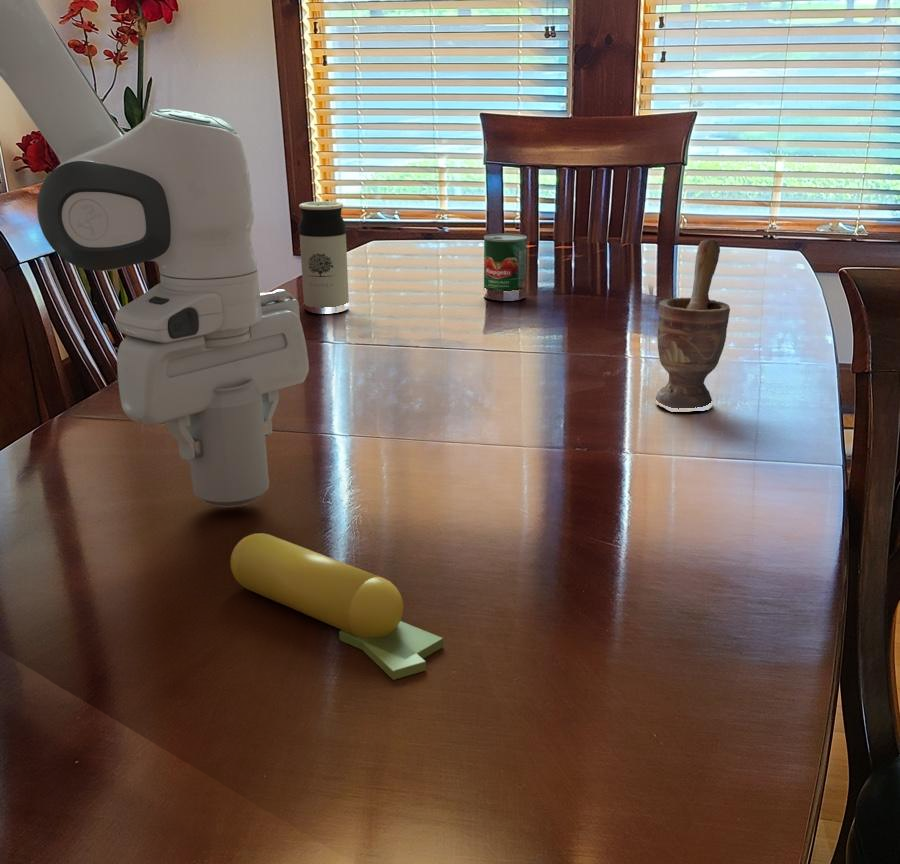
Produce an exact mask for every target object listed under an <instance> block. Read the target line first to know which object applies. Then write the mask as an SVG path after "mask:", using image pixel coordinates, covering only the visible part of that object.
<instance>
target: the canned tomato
mask: <svg viewBox="0 0 900 864" xmlns="http://www.w3.org/2000/svg"><path fill="white" fill-rule="evenodd" d="M527 241H528V238H527V235H525V234H518V233H491V234H486V235H483V289H484V288H486V289H490V290H497V291H512V290H519V289H522V288H524V287H526V284H527V283H526V280H527V277H526V276H527V249H528V248H527V247H528V245H527Z"/></svg>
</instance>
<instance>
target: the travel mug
mask: <svg viewBox="0 0 900 864" xmlns="http://www.w3.org/2000/svg"><path fill="white" fill-rule="evenodd" d="M298 207H299V208H300V211H301V215H302V216H301V219H300V222H299V224H298V230H299V231H298V232H299V246H300V248H299V249H300V263H301V278H302V292H303V293H302V295H303V305H304V304H305V305H306V306H309V307H315V308H324V307H336V306H340V305H344V304H346V303H348V302H349V303H350V296H349V293H350V292H349V275H348V274H349V273H348V252H347V251H348V250H347V232H346V231H347V230H346V229H347V228H346V226H347V225H346V222H345V220H344V219H343V217H342V210H343V209H342V208H343V207H344V204H343V203H342V202H340V201H339V202H338V201H308V202H307V201H306V202H302V203H300V204H299V205H298Z"/></svg>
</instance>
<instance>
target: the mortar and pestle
mask: <svg viewBox="0 0 900 864" xmlns="http://www.w3.org/2000/svg"><path fill="white" fill-rule="evenodd" d="M720 252H721V245H720V243H719V242H718V241H717V240H716V239H710V238H706V239H703V240H701V241H700V243H699V244H698V246H697V250H696V255H695V262H694V275H693V276H694V277H693V278H694V279H693V285H692V292H691V296H690V297H675V298H666V299H662V300H660V301H659V305H658V324H657V336H656V337H657V351H658V359H659V362H660V365H661V366H662V367H663V368H664V370H665V371H666V372H667V373H668V382H667V383H666V385H665V386H664V387H661V388H660V389H659V390H658V392H657V393H656V396H655V399H656V400H657V401H658V402H659V403H661V404H663V405H665V406H668V407H671V408H678V409H679V408H695V407H696V408H697V407H703V406H706V405H708V404H709V403H711V401H713V399H712V395H711V393H710V391H709V389H708V388H707V386H706V385H705V380H706V378H707V377H708V375H709V374H711V372H713V371H714V370H715V369H716V368H717V366H718V364H719V361H720V359H721V356H722V354H723V350H724V348H725V343H726V340H727V330H728V325H729V318H730V313H731V307H730V305H729V304H728V303H726V302H723V301H717V300H716V299H710V298H709V297H710V296H709V292H710V289H711V285H712V280H713V276H714V275H715V272H716V269H717V267H718V262H719V258H720Z"/></svg>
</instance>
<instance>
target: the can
mask: <svg viewBox="0 0 900 864" xmlns="http://www.w3.org/2000/svg"><path fill="white" fill-rule="evenodd" d="M253 382H254V380H253V379H250V380H249V382H248V383H246V384H244V385H240V386H237V387H231V388H222V389H214V390H213V392H214V393H215V397H214V399H213V400H212V402H211V403H210V404H209V406H208V407H207V410H206V411H202V412H199V413H195V414H192V415H190V424H191V425H190V426H188V427H186V426H185V427H186V429H187V431H188V432H189V434H190V435H191V437H192V438H194V439H199V440H202V449H201V450H202V451H203V456H202V457H199V458H197V459H194V460H191V461H189V469H190V478H191V485H192V492H193V495H194V496H196V497H197V498H199V500H202V502H203V503H205V504H206V505H207V506H208V505H209V506H212V507H218V508H236V507H243V506H248V505H251V504H253V503H255V502H258V501H259V500H260V499H261V498H262V496H263V495H264V494H265V493H267V492H268V491H269V487H270V479H269V469H268V467H269V466H268V456H267V455H268V454H267V443H266V436H265V429H264V417H263V405H262V394H261V393H260V392H259V391H258V390H257V389H256V388H255V387H254V386H253Z"/></svg>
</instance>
